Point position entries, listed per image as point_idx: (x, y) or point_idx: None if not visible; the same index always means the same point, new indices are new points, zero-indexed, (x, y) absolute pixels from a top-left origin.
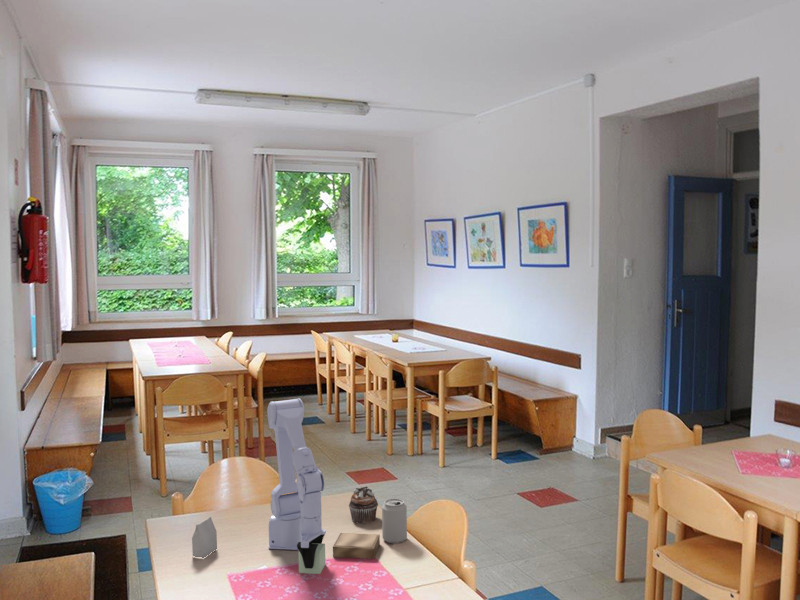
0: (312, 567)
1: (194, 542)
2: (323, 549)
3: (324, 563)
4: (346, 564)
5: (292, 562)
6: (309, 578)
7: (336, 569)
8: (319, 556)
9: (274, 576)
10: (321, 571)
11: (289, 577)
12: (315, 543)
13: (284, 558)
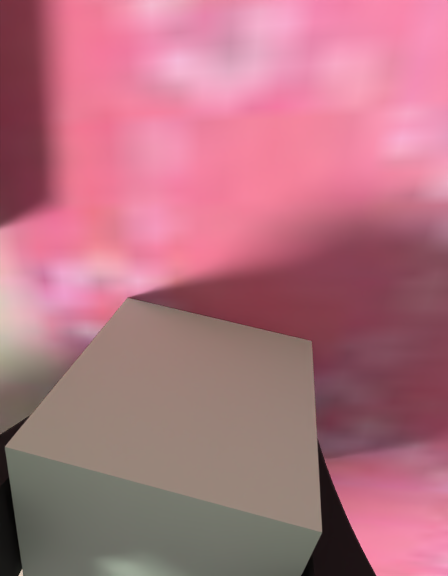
0: (317, 440)
1: None
2: (115, 434)
3: (151, 317)
4: (115, 91)
5: None
6: (378, 414)
7: (231, 199)
8: (316, 481)
9: None
10: (266, 331)
11: None
12: (20, 531)
13: None
